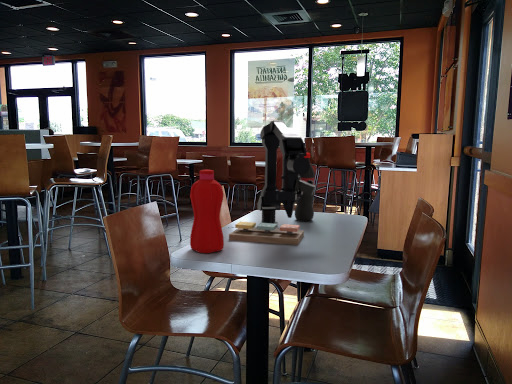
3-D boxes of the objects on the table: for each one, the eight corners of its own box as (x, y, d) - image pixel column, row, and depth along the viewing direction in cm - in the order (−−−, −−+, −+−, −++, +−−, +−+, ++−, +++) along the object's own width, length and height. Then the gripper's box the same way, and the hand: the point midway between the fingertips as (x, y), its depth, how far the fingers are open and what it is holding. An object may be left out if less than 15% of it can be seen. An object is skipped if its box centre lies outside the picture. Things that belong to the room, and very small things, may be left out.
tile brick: (282, 232, 140) (282, 223, 139) (299, 233, 138) (299, 224, 138) (279, 235, 134) (279, 227, 134) (296, 237, 132) (297, 228, 132)
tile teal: (261, 230, 142) (261, 222, 141) (277, 232, 140) (277, 223, 140) (257, 234, 136) (257, 225, 136) (273, 235, 134) (274, 226, 134)
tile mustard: (240, 229, 144) (240, 221, 143) (255, 230, 142) (255, 222, 142) (235, 232, 138) (235, 224, 138) (251, 234, 136) (251, 225, 136)
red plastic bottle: (208, 243, 129) (208, 168, 126) (227, 250, 120) (228, 170, 118) (183, 248, 123) (182, 169, 120) (202, 255, 115) (201, 170, 112)
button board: (240, 231, 148) (240, 226, 148) (303, 235, 142) (303, 230, 142) (228, 239, 134) (228, 234, 134) (297, 245, 128) (298, 239, 128)
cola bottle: (305, 218, 179) (307, 152, 175) (317, 221, 171) (319, 152, 168) (290, 219, 174) (292, 152, 171) (302, 222, 167) (304, 152, 164)
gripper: (311, 175, 123) (309, 224, 124) (317, 171, 141) (315, 214, 142) (276, 174, 125) (275, 222, 127) (286, 171, 143) (285, 212, 145)
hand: (289, 217), depth 135 cm, fingers closed
